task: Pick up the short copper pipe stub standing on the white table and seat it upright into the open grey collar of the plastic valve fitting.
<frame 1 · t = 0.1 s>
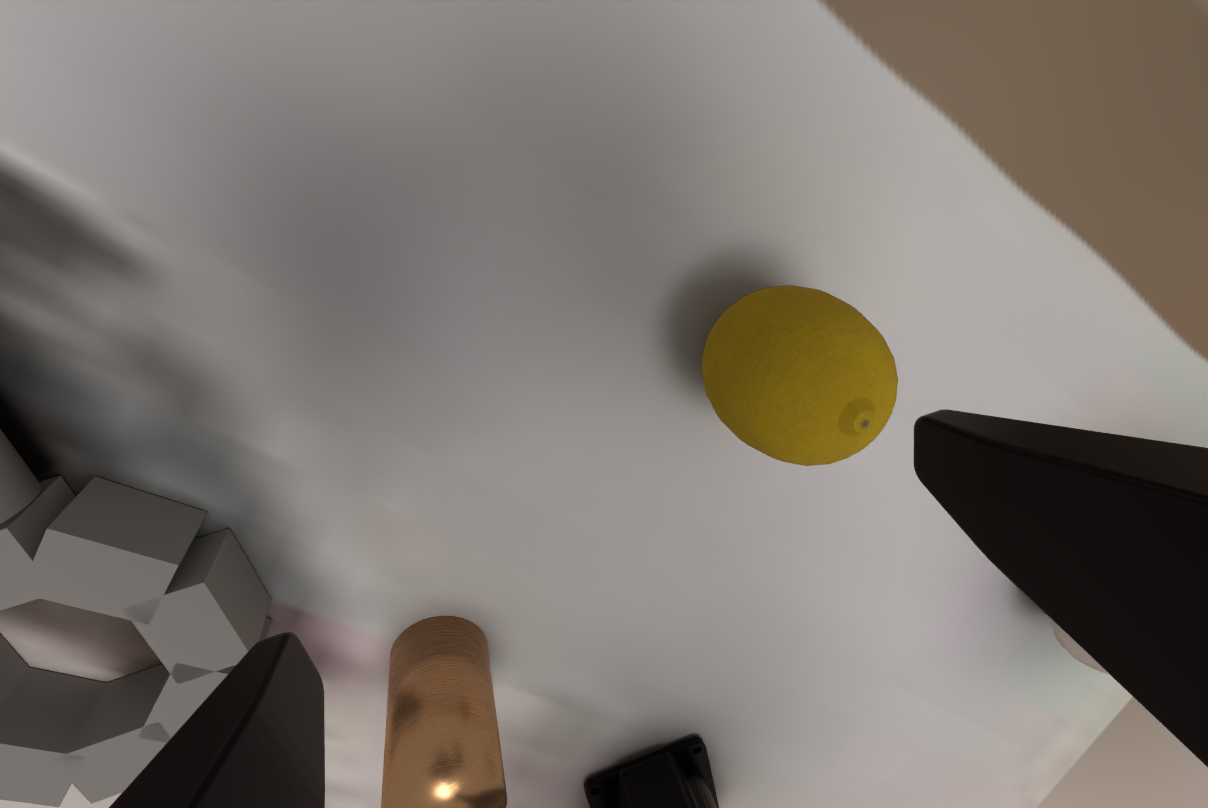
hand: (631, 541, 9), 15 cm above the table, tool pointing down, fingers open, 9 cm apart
valve fitting: (96, 614, 22), on the table
lemon: (736, 335, 25), on the table
pipe stub: (439, 654, 27), on the table
flower vase: (1088, 546, 36), on the table
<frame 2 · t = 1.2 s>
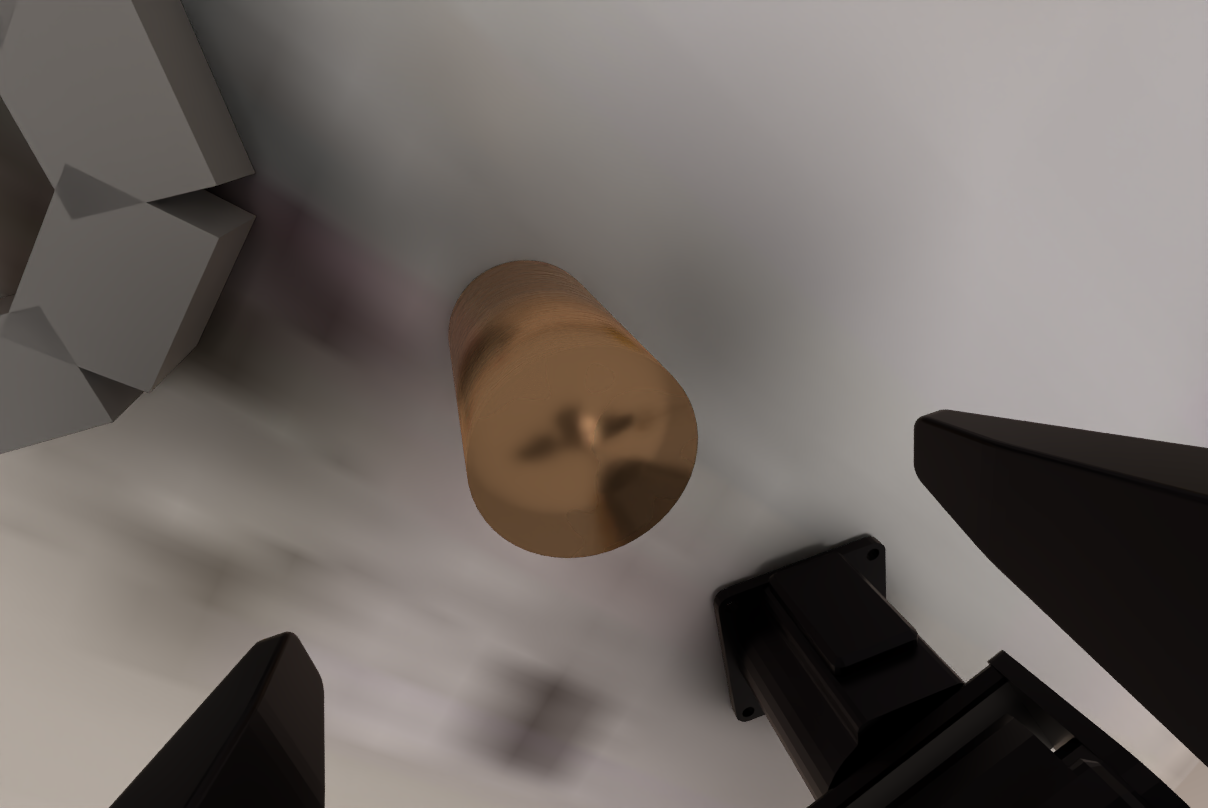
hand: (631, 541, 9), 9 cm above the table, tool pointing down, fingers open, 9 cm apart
pipe stub: (525, 336, 17), on the table
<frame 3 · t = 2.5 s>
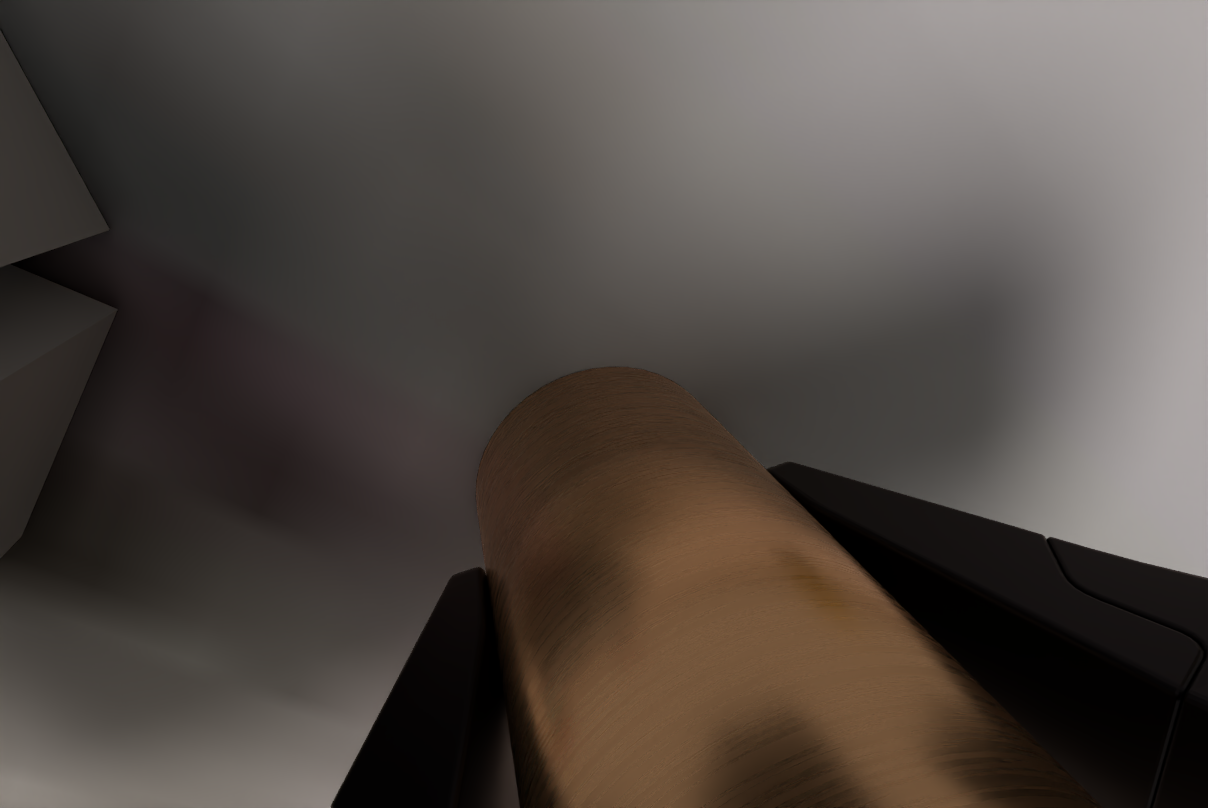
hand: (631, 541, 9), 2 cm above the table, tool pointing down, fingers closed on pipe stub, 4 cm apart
pipe stub: (603, 485, 10), on the table, touching gripper
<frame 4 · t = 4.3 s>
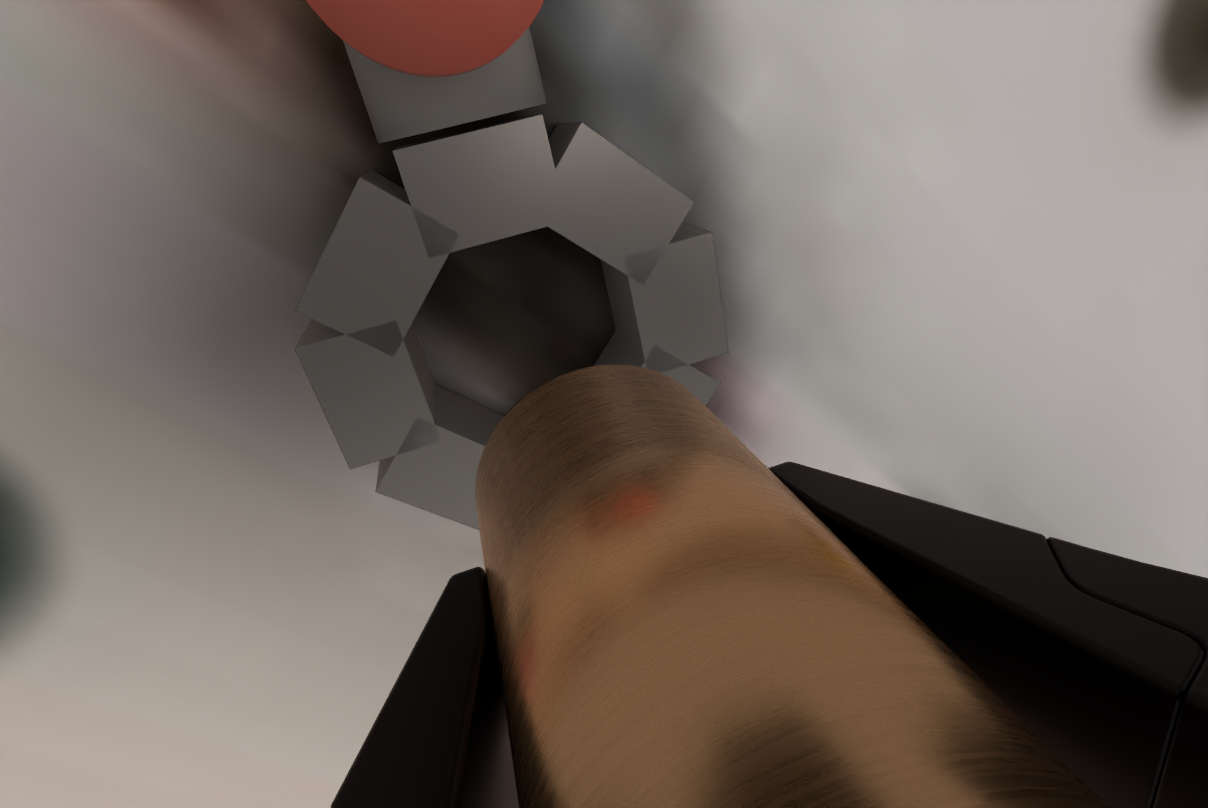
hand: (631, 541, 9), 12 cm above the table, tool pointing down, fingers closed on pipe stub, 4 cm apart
valve fitting: (516, 319, 19), on the table
pipe stub: (603, 483, 10), point 10 cm above the table, touching gripper
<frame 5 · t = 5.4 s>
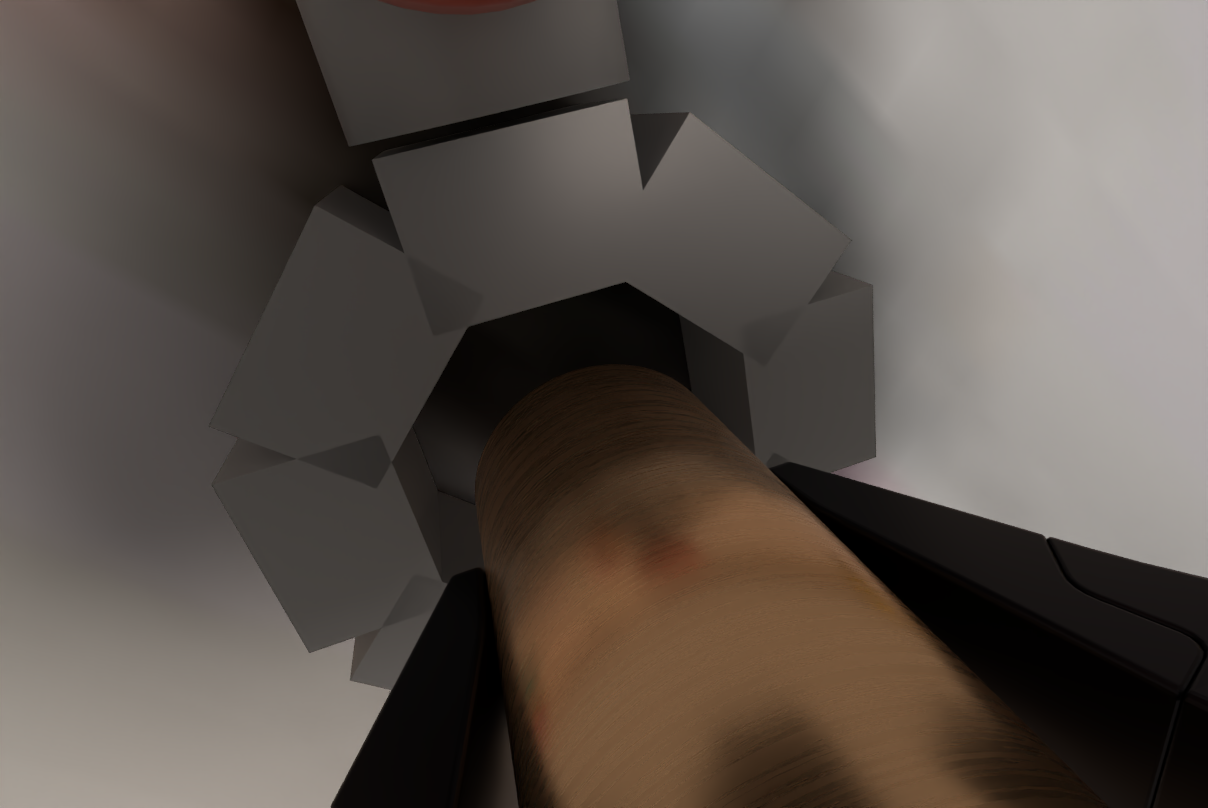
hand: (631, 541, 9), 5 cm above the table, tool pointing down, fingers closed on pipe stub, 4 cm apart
valve fitting: (556, 399, 13), on the table
pipe stub: (603, 483, 10), point 4 cm above the table, touching gripper
when the fingers open (3 cm above the table, at t = 6.1 s): pipe stub drops 2 cm, resting in valve fitting.
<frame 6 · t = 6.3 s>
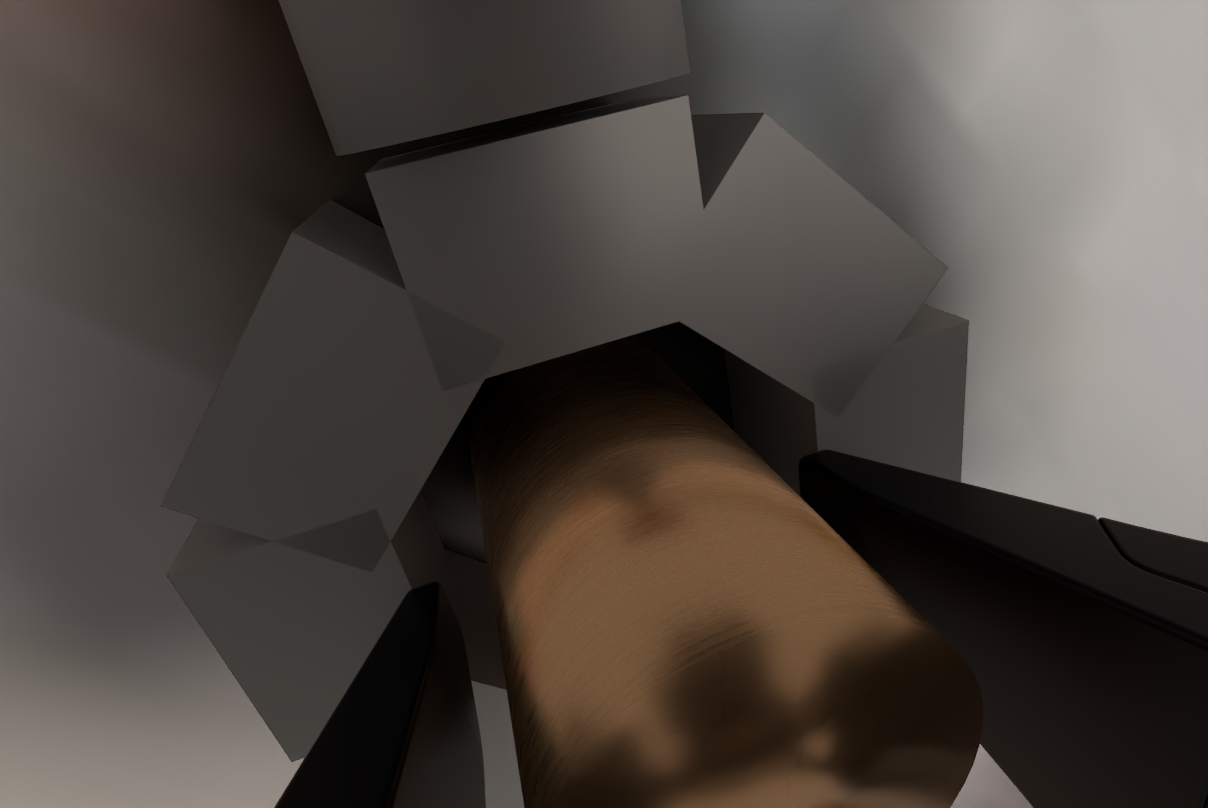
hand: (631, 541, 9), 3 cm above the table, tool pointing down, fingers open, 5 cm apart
valve fitting: (581, 444, 11), on the table
pipe stub: (583, 440, 12), resting in valve fitting
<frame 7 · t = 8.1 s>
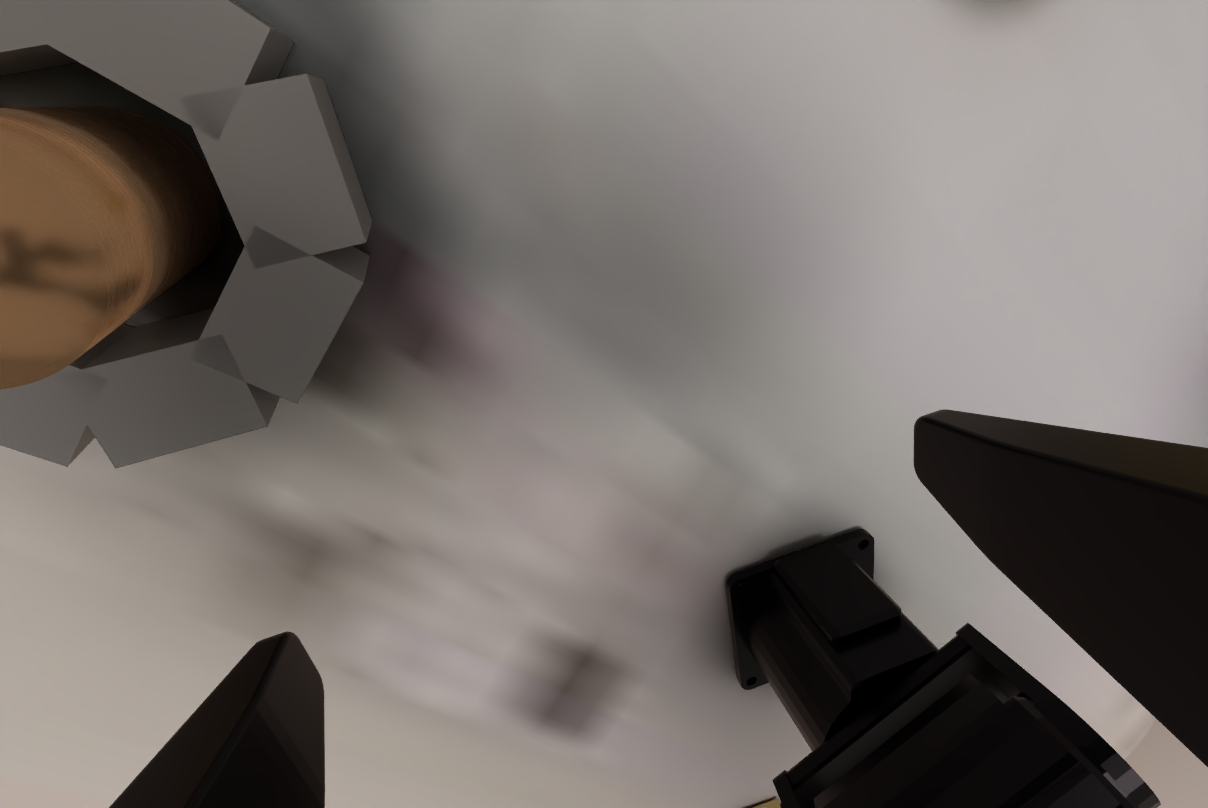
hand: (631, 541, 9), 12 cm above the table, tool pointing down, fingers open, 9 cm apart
valve fitting: (124, 201, 15), on the table
pipe stub: (126, 199, 15), resting in valve fitting
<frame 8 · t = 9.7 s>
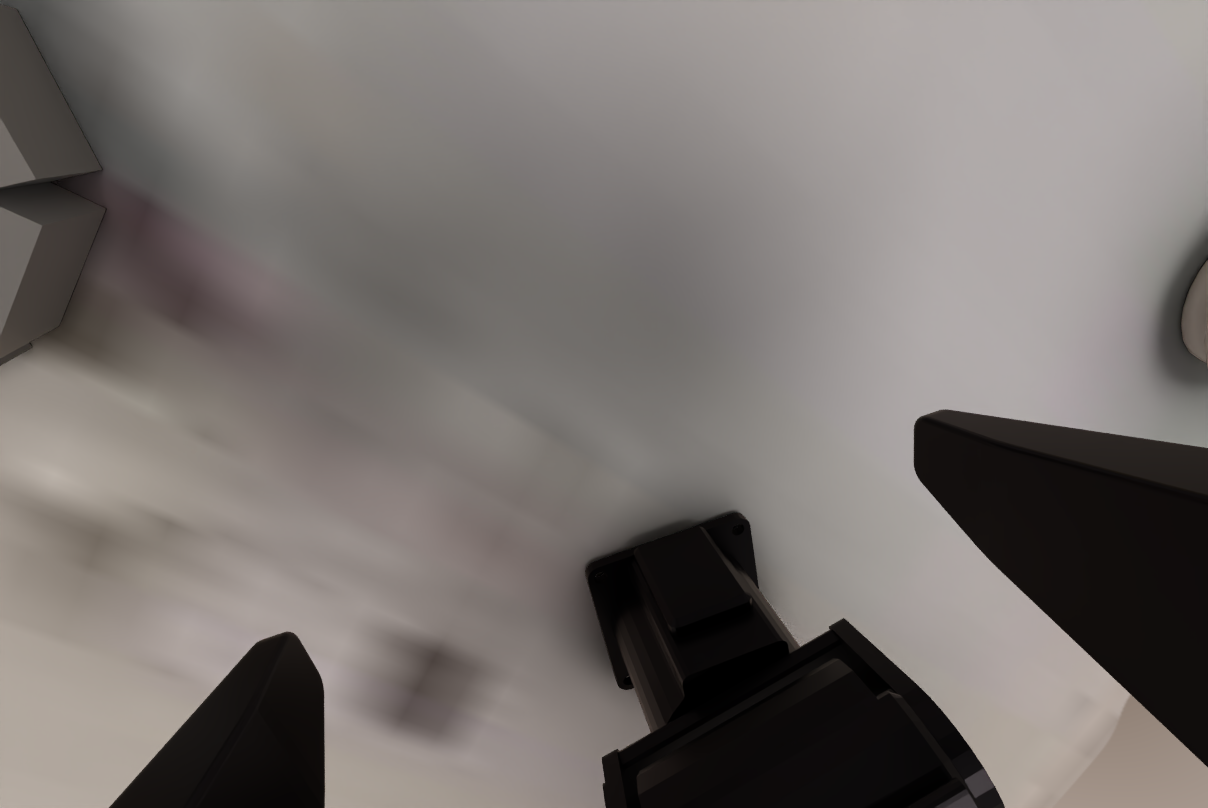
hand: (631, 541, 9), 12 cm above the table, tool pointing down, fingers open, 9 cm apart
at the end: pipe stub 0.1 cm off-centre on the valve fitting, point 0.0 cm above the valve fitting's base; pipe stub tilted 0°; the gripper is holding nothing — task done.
